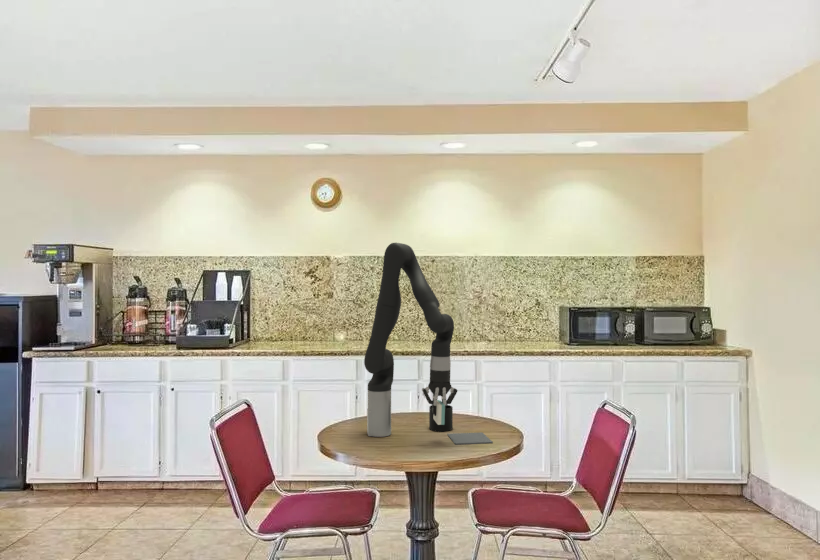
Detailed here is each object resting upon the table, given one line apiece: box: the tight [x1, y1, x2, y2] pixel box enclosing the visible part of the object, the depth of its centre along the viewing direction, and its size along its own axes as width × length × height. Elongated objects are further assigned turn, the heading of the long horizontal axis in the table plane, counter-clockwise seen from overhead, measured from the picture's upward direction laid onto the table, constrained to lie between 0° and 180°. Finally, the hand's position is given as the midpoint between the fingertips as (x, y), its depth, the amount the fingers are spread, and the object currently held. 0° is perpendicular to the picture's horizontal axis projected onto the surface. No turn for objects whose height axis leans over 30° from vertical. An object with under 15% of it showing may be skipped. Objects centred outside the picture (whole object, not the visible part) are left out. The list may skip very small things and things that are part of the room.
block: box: [433, 399, 445, 425], centre depth 203 cm, size 2×9×7 cm, turn 8°
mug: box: [428, 404, 454, 433], centre depth 225 cm, size 9×12×9 cm
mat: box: [446, 432, 494, 446], centre depth 208 cm, size 14×14×1 cm
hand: (439, 415), depth 203 cm, fingers closed on block, 2 cm apart
